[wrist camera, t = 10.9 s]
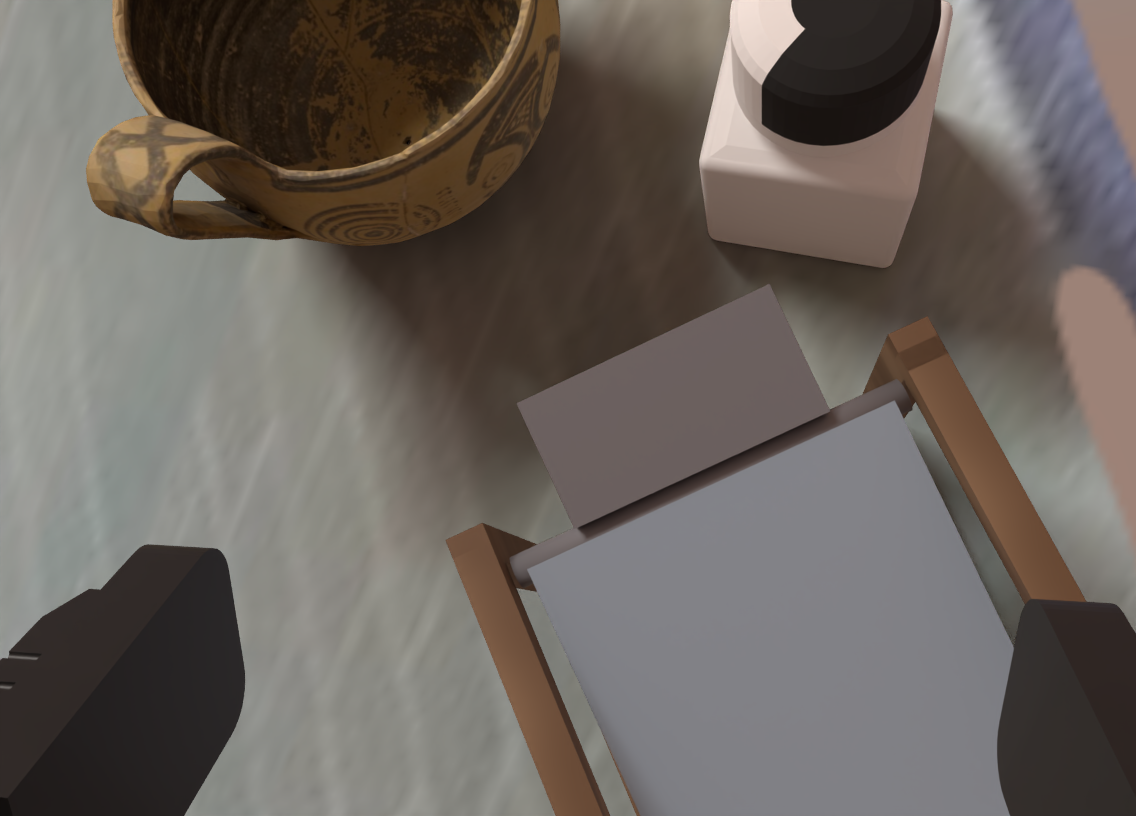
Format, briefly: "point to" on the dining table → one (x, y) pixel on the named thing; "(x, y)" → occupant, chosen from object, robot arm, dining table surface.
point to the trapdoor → (764, 584)
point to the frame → (902, 357)
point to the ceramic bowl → (324, 113)
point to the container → (822, 124)
